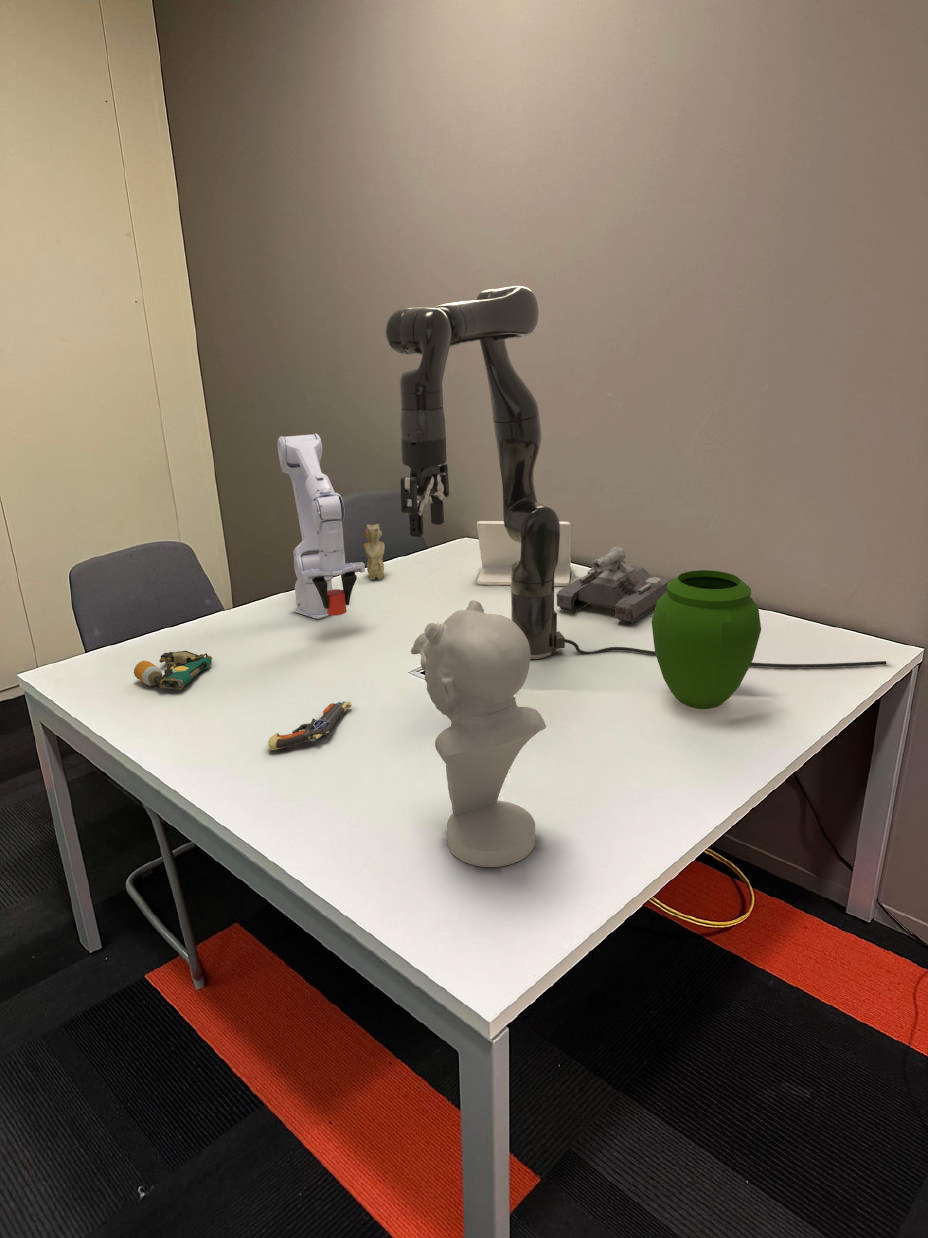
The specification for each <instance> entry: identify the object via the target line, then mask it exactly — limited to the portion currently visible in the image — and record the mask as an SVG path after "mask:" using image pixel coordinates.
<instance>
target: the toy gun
mask: <svg viewBox="0 0 928 1238" xmlns="http://www.w3.org/2000/svg"><path fill="white" fill-rule="evenodd" d="M352 706H353V705H352V701H344V700H343V701H342V702H341V701H338V702H333V703H332V702H331V703H329V704H328V705H327V707H326V708H324V710H323V711H322V715H321V717H320V718H318V719H316V718H313V717H312V719H311V722H309V723H302V724H300V725H299V726H298V727H296V728H295V729H294V730H292V732H291V733H289V734H280V733H279V732H276V733H274V734H273V735H271V736H270V737H269V739H268V741H267V742H268V747H269V750H270V751H277V750H280V749H284V748H288V747H291V746H295V745H298V744H303V743H305V742H308V741H311V740H314V739H315V740H318V739H319V738H321V737H323V736H324V735H327V734H329V732H330V731H332V729H333V728H334V727H335V725H336V722H337V721H338V719H339V718H341V716H342V715H343V714H344V713H345V712H346V711H347V710H348V709H351V708H352Z"/></svg>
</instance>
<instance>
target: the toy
mask: <svg viewBox="0 0 928 1238" xmlns="http://www.w3.org/2000/svg"><path fill="white" fill-rule="evenodd" d="M626 557H627V556H626V551H625V549H624V548H622V547H621V546H614V547H612V548H611V549H610V550H609V552H608V553H607V554H605V555H604V556H601V557H599V558H598V559H597V557H596V558H594V559H593V560H592V561H590V562H589V563H590V564H591V565H592V567H591V568H590V569H589V570H587V573H586V575H584V576H582V577H580V578H578V579H577V580H575V581H573V582H570V583H569V585H567V586H563V587H562V588H560V589H559V590H558V591H557V592H556V607H558V608H559V609H560V610H562V611H566V612H572V613H575V612H577V611H579V610H581V609H582V608H585V607H586V606H588V605H592V606H598V607H602V608H603V607H604V608H609V609H613V610H614V618H615V619H617V620H618V621H621V622H626V623H631V624H634V623H635V622H637V621H638V620H640V619H641V618H642V617H644V616H645V615H647V614H648V613H650V612H651V611H652V610H655V607H656V604H657V601H658V599H659V598H660V597H661V596H662V595H663V594H664V593H665V592H666V591H667V583H668V582H669V581H671V580H673V579H674V578H675V577H674V578H673V577H668V576H663V575H656V576H655V577H654V576H651V574H650V573H649V572H648V571H647V570H646V568H644V567H641V566H635V565H629V564H628V563H627V562H626V561H625V559H626Z"/></svg>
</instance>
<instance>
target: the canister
mask: <svg viewBox="0 0 928 1238" xmlns="http://www.w3.org/2000/svg"><path fill="white" fill-rule="evenodd" d="M327 597H328V604H329V608H328V609H327V613H328V614H329V616H341V615H345V614H346V613H347V605H346V599H345V591H344V590H343V589H339V588H338V589H337V588H336V589H332V590H329V591H327Z"/></svg>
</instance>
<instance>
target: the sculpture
mask: <svg viewBox="0 0 928 1238" xmlns="http://www.w3.org/2000/svg"><path fill="white" fill-rule="evenodd" d="M363 536H364V537H365V538H366V539H367V540H368V541H367V542H364V544H363V551H364V555H365V557H366V558H367V563H366V570H367V574H368V576H369V579H370V580H375V579H376V578H377V579H378V580H382V579H383V578H384V573H385V563H384V561H383V556H384V554H385V549H386V548H385V547H386V545H385V543H384V542H383V541H381V540H380V539H381V538H382V536H383V531H382V530H380V523H375V524H369V523H368V524H366V530H365V531H364V532H363Z"/></svg>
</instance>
